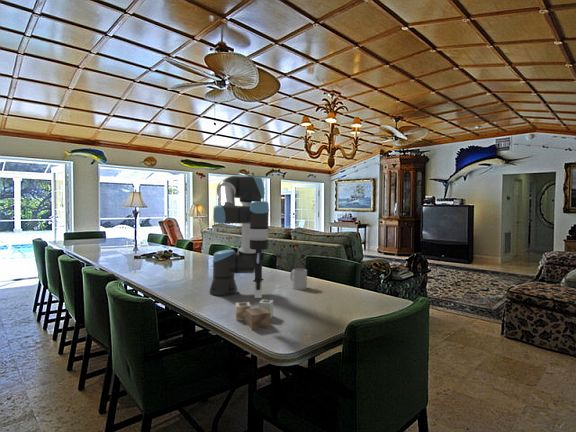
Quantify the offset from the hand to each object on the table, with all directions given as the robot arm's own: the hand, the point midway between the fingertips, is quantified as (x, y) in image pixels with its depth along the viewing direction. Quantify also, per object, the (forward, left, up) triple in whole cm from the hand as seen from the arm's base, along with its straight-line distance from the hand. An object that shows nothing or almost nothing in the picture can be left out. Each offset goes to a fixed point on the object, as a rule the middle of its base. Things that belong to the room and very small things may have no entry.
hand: (258, 297), depth 139 cm
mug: (+20, +65, -12) cm, 69 cm away
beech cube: (-7, +9, -12) cm, 16 cm away
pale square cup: (+3, +10, -12) cm, 16 cm away
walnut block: (0, 0, -12) cm, 12 cm away
